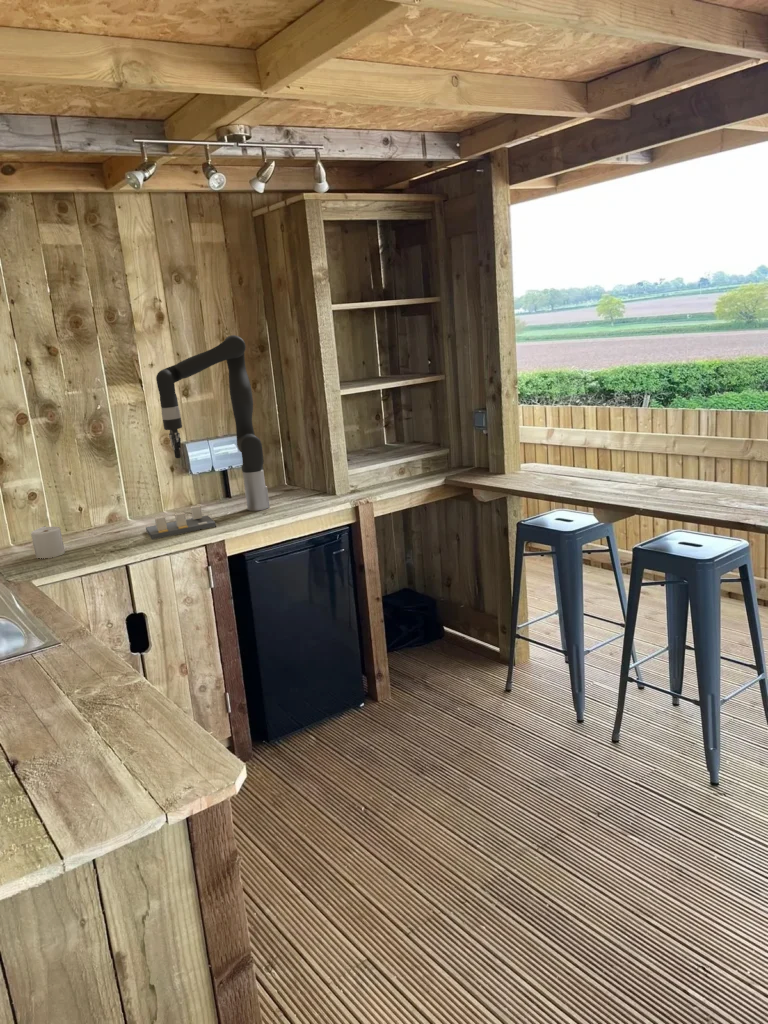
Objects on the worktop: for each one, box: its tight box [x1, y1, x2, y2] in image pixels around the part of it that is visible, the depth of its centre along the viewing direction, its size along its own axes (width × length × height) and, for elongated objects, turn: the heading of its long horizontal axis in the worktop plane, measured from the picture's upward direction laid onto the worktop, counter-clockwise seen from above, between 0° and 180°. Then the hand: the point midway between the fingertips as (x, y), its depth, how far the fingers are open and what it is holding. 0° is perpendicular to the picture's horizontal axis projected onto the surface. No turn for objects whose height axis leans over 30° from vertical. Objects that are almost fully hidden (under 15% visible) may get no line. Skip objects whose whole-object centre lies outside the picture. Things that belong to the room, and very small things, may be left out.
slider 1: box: [154, 515, 167, 531], centre depth 316 cm, size 4×3×5 cm
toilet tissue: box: [30, 525, 66, 560], centre depth 303 cm, size 11×12×10 cm
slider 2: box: [190, 504, 203, 520], centre depth 329 cm, size 4×3×5 cm
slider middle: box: [174, 511, 187, 527], centre depth 319 cm, size 4×3×5 cm
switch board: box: [145, 515, 217, 540], centre depth 323 cm, size 26×14×2 cm, turn 115°
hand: (178, 457), depth 333 cm, fingers closed
